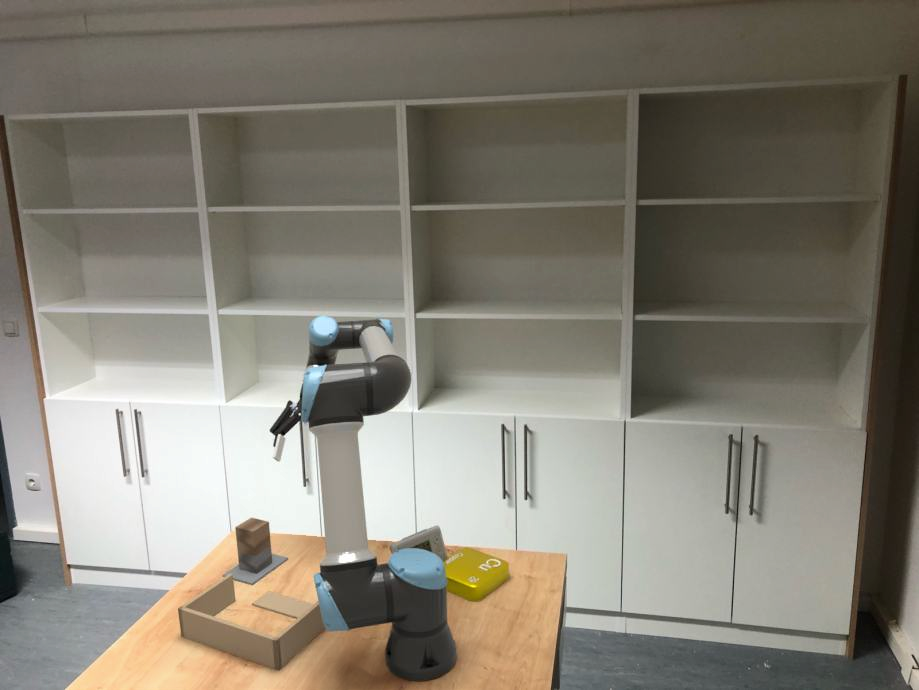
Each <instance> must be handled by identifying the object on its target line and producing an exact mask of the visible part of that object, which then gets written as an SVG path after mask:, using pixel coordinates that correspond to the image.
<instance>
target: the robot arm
mask: <svg viewBox="0 0 919 690" xmlns="http://www.w3.org/2000/svg"><path fill="white" fill-rule="evenodd" d="M393 328H394V327H393V324H392V321H391V320H390V319H388V318H375V319H363V320H349V321H346V320H345V321H336V319H335V318H333V317H331V316H327V315H320V316H317V317H315V318H314V319H312V321H311V322H310V324H309V330H308V341H309V343H308V344H309V345H308V348H309V349H308V350H309V352H308V358H307V363H306V366H305V371H304V373H303V379H302V384H301V388H300V391H299V399H298V401H296V402H293V401H292V400H288V401H287V403H286V406H285V408H284V409H283V411H282V412H281V413H280V415H279V416H278V417H277V419H276V420H275V421H274V423H273V424H272V426H271V427H270V429H269V433H271V434H272V435H273V436H274V438H273V445H272V446H273V448H274V450H273V454H272V459H274V460H275V461H276V462H281V460H282V455H283V452H284V451H283V450H284V448H285V442H286V437H284V436H285V435H287V433H289V432H290V431H291V430H292V429H293V428H294V427H295V426H296V425H297V424H298V423H299V422H300V421H301V422H302V423H306V424H307V423H308V431H309V432H310V433H311V434H312V435H314V436H315V437H316V441H317V455H318V467H319V477H320V480H319V481H320V491H321V493H320V494H321V502H322V514H323V515H322V516H323V528H324V541H325V551H326V552H325V553H326V554H325V556H324V558H323V559H322V560H321V561H320V562H319V570H320V572H319V571H318V572H316V573H315V574H313V581H314V586H315V590H316V591H315V592H316V595H317V600H318V601H319V606H320V610H321V615H322V620H323V624H324V627H325V629H326V630H327V631H328V632H341V631H342V632H343V631H347V632H349V631H351V630H355V629H361V628H366V627H373V626H379V625H386V624H390V623H391V628H390V631H389V634H388V638H387V641H386V645H385V650H384V655H385V656H384V657H385V665H386V667H387V668H388V670H389V671H390V672H391V674H393V675H395V676H396V677H397V678H401V679H404V680H408V681H415V682H416V681H417V682H419V681H421V682H422V681H428V680H429V681H430V680H433V679H436V678H440V677H441V676H443V675H445V674H446V673H448V672H449V671H450V670H451V669H452V668H453V667H454V665H455V664H456V661H457V657H458V656H457V655H458V654H457V643H456V640H455V639H454V636H453V633H452V631H451V628H450V625H449V623H448V601H447V600H448V599H447V598H448V597H447V595H448V594H447V593H448V591H446V585H447V578H446V571H445V565H444V563H443V561H442V560H441V558H440V557H438V556H437V555H436V554H434V553H432V552H429V551H427V550H423V549H417V548H408V549H401V550H398V551H397V552H394V553H393V554H391V555H390V556H389V558H388V560H387V562H386V563H379V564H378V557H377V555H376V554H375V552H373V551H372V550H370V548H369V540H368V531H367V530H368V529H367V520H366V508H365V499H364V490H363V489H364V488H363V487H364V485H363V478H362V477H363V476H362V467H361V456H360V446H359V432H360V430H361V429H362V428H363V426H364V425H365V422H364V417H369V416H378V415H382V414H384V413H387V412H389V411H391V410H393V409H394V408H395V407H397V406H398V405H399V404H400V403H401V402H402V401H403V400H404V399H405V397H406V396H407V394H408V392H409V391H410V388H411V384H412V372H411V369H410V367H409V365H408V363H407V362H406V361H405V360H404V358H402V357H401V356H399V355H398V353H397V352H396V350H395V347H394V346H393V343H394V329H393ZM357 349H361V350H362V353H363V356H364V359H365V362H353V363H337V362H336V361H337V357H338V354H339V351H340V350H341V351H342V350H343V351H344V350H357ZM299 414H300V415H299Z"/></svg>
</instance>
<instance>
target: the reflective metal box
mask: <svg viewBox="0 0 919 690" xmlns="http://www.w3.org/2000/svg"><path fill="white" fill-rule="evenodd" d="M234 529H235V537H236V539H235V540H236V549H237V558H238V564H239V569H241V570H245V571H248V572H252V573H255V574H258V573H259V572H260V571H262V570H263V569H265V568H266V567H268V566H269V565H270V564H272V554H273V552H272V542H271V532H270V531H271V530H270V522H269V521H268V520H263V519H259V518H255V517H250V518H248V519H247V520H245V521H243V522H242V523H240V524H238V525H236V526H235V527H234Z"/></svg>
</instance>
